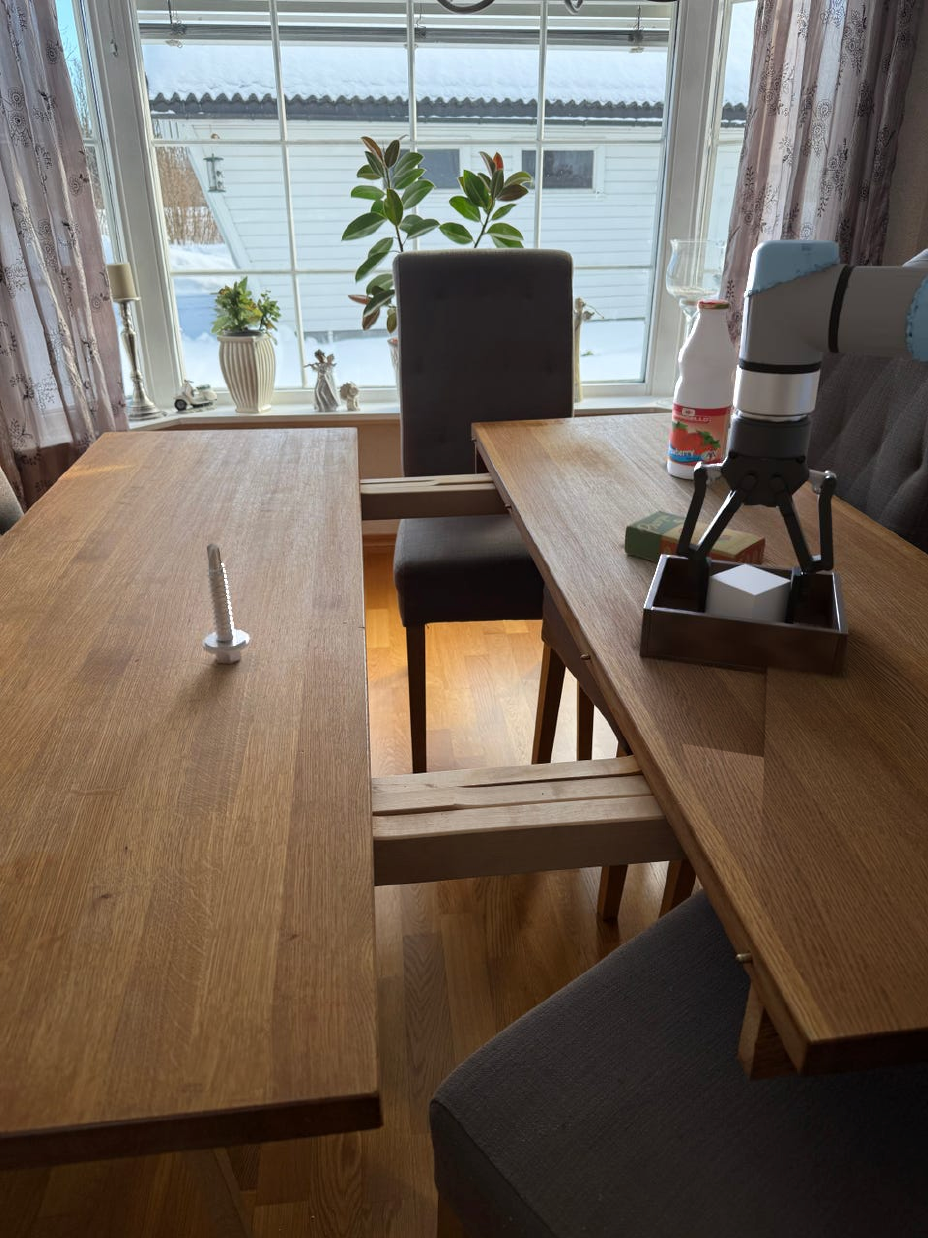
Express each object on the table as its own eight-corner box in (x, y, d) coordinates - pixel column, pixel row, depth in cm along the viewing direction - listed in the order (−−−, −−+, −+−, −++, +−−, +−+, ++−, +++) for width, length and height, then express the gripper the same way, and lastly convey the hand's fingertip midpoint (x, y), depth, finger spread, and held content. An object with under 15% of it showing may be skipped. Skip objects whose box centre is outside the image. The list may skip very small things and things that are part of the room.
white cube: (747, 647, 92) (754, 595, 90) (703, 627, 97) (708, 576, 94) (783, 631, 96) (791, 580, 93) (738, 612, 100) (745, 563, 97)
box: (831, 618, 101) (840, 573, 98) (838, 684, 87) (848, 634, 85) (657, 597, 106) (661, 553, 104) (639, 656, 93) (643, 608, 90)
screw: (242, 670, 91) (197, 668, 91) (258, 648, 95) (215, 646, 96) (226, 553, 85) (178, 551, 86) (244, 535, 89) (198, 533, 90)
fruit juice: (733, 473, 151) (756, 300, 139) (702, 484, 146) (723, 305, 133) (687, 462, 158) (705, 295, 145) (655, 472, 152) (671, 300, 140)
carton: (730, 586, 109) (735, 554, 107) (622, 553, 119) (624, 523, 117) (762, 566, 114) (767, 535, 112) (656, 536, 124) (658, 507, 122)
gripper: (886, 409, 86) (846, 619, 96) (666, 398, 92) (650, 596, 102) (894, 427, 80) (851, 650, 90) (657, 414, 86) (641, 624, 96)
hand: (744, 621), depth 96 cm, fingers closed on white cube, 8 cm apart
